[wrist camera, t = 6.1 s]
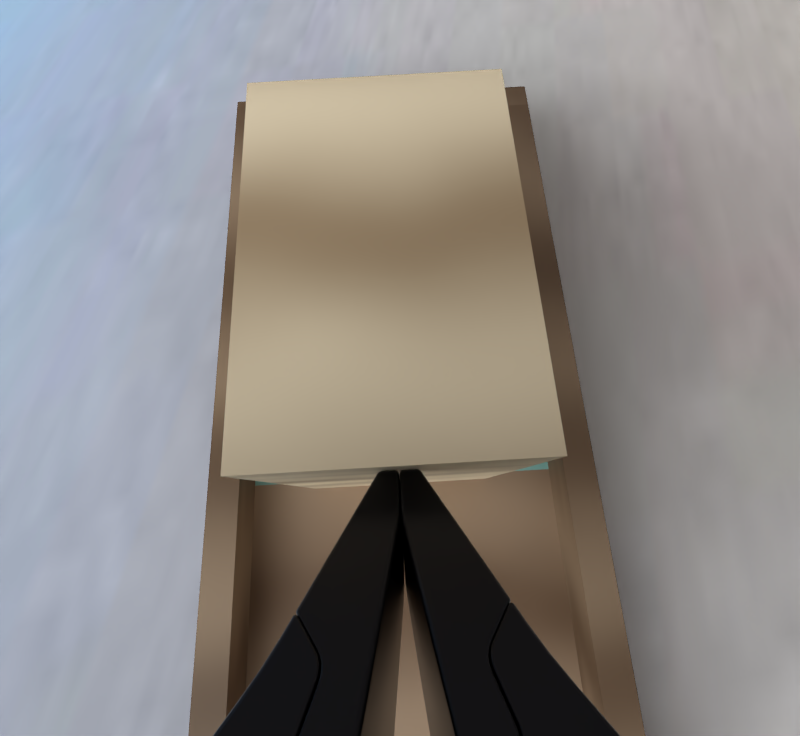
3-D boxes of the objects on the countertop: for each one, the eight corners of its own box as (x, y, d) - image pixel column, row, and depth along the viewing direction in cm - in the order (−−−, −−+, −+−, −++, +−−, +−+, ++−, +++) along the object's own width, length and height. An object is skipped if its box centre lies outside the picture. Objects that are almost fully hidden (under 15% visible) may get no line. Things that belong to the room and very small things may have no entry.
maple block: (485, 478, 15) (567, 456, 7) (315, 488, 15) (220, 476, 7) (460, 255, 18) (501, 68, 10) (316, 263, 18) (247, 83, 10)
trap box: (641, 994, 12) (727, 1175, 9) (219, 1019, 12) (151, 1209, 9) (506, 149, 22) (524, 86, 18) (263, 163, 22) (237, 102, 18)
